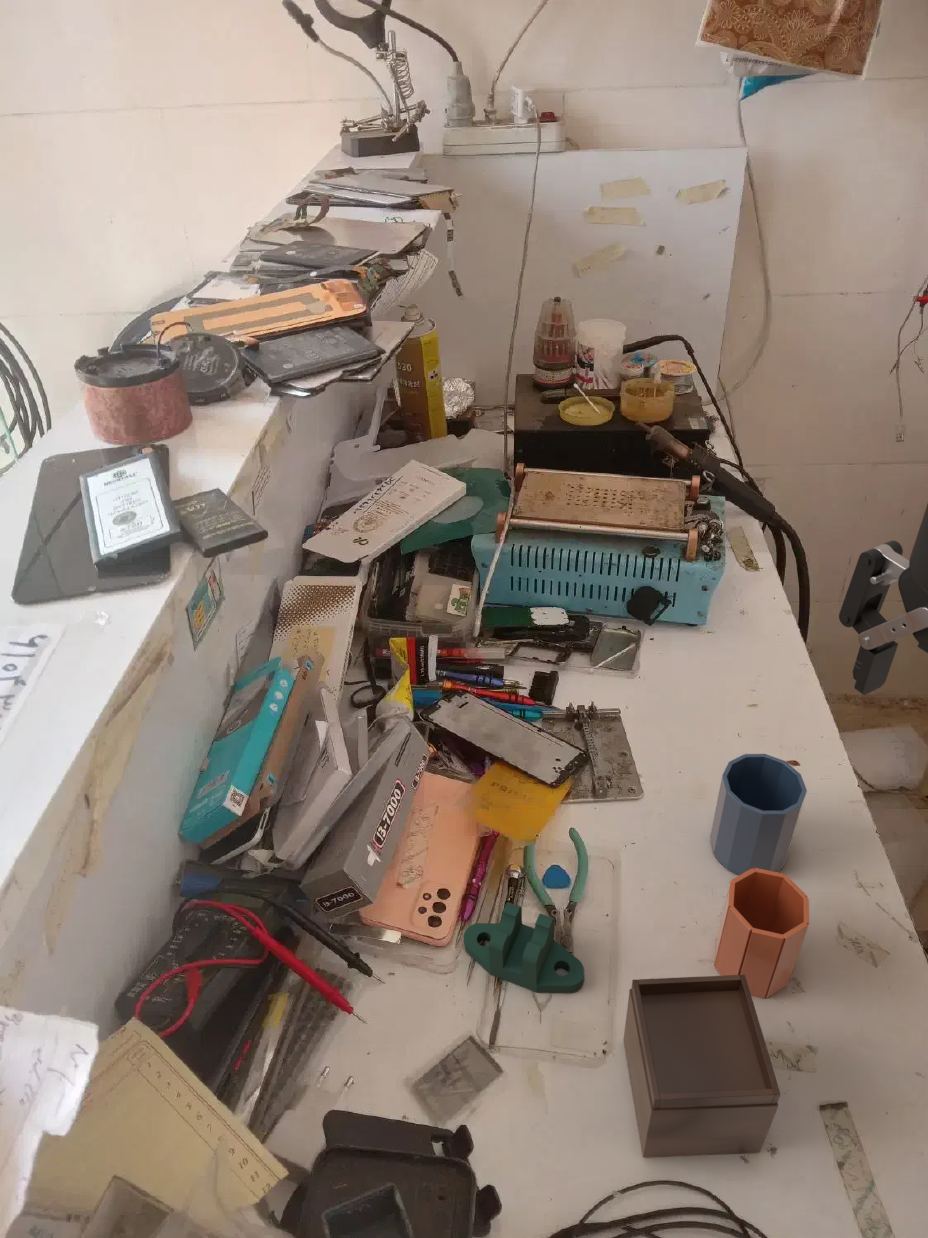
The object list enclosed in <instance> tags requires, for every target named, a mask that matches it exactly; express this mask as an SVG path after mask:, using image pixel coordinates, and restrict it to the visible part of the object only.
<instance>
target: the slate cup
mask: <svg viewBox="0 0 928 1238" xmlns="http://www.w3.org/2000/svg"><path fill="white" fill-rule="evenodd" d="M718 790H719V791H718V796H717V801H716V806H715V811H714V816H713V820H712V826H711V832H710V837H709V838H710V847H711V851H712V854H713V855H714V857H715V859H716V861H717V862H718V863H719V864H720V865H721V866H722V867H724V869H726V870H727V871H729V872H731V873H732V874H734V875H736V876H739V875H741V874H743V873H745V872H746V871H748V870H750V869H752V868H753V869H755V868H759V869H763V870H768V871H773V872H778V873H780V872H781V870H782V869H783V868H784V867H785V864H786V861H787V858H788V856H789V854H790V850H791V846H792V843H793V840H794V836H795V833H796V829H797V826H798V823H799V820H800V816H801V813H802V809H803V806H804V802H805V798H806V795H807V792H808V789H807V787H806V784H805V781H804V779H803V776H802V773H800V772H799V771H798V770H797V769H795V768H794V767H793V766H792V765H791V764H790V763H788V762H787V761H786V760H783V759H781V758H778V757H775V756H773V755H769V754H767V753H744V754H741V755H740V756H738V757H736V758H733V759H732V760H730V761H728V763H727V765H726V766H725V768H724V770H723V773H722V775H721V780H720V785H719V789H718Z"/></svg>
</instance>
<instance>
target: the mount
mask: <svg viewBox="0 0 928 1238" xmlns="http://www.w3.org/2000/svg"><path fill="white" fill-rule="evenodd" d="M522 909H523V907H522V906H520V905H518V904H516V903H515V904H514V903H512V902H510V901H507V902H506V903H505V905H504V907H503V910H502V913H501V919H500V922H498V923H497V922H496V923H494V922H491V923H490V922H477V923H473V924H471V925H469V926H468V927H467V928H466V929H465V930H464V933H463V945H464V946H463V947H464V950H465V952H466V953H467V955H468V956H469V957H471V959H472V960H474V961H475V962H476V963H477V964H478V965H480V967H481V968H483V970H485V971H486V972H487V973H488V974H489V975H491V976H492V977H496V978H497V979H500V980H503V981H505V982H508V983H511V984H513V985H516V986H518V987H520V988H523V989H526V990H529V991H531V992H533V993H537V994H542V993H543V994H573V993H576V992H578V991H579V990H580V989H581V988H582V986H583V985H584V982H585V968H584V965H583V963H582V962H581V960H580V959H578V957H576V956H575V955H574V954H572V952H570V951H569V950H567V949H566V948H565V947H564V946H563V945H561V944H560V943H559V942H558V941H556V940H555V918H554V917H552V916H549V915H546V914H543V913H539V914H538V916H537V918H536V921H535V923H534V927H532V926H529V925H526V924H523V915H522V914H523V913H522V912H523V911H522ZM484 940H485V941H489V943H488V945H481V944H479V943H480V942H482V941H484ZM559 969H563V970H566V971H567V974H565V975H560V974H559V973H557V970H559Z"/></svg>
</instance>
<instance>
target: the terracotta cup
mask: <svg viewBox="0 0 928 1238" xmlns="http://www.w3.org/2000/svg"><path fill="white" fill-rule="evenodd" d="M809 925H810V899H809V897H808V895H807V894H806V893H805V892H804V891H803V889H801V888H800V887H799V886H798V884H796V883H795V882H794V881H793V880H792V879H791V878H790V877H789V875H787V874H786V875H785V873H782V872H773V871H768V870H763V869H759V868H755V869H753V868H752V869H750V870H748V871H746V872H745V873H743V874H741V875H736V877H733V878H732V879H731V880H730V881H729V884H728V889H727V893H726V896H725V902H724V906H723V910H722V915H721V919H720V922H719V927H718V932H717V937H716V941H715V948H714V949H715V950H714V951H715V952H714V961H713V962H714V964H713V965H714V968H715V969H716V971H717V972H718V973H719V974H720V976H724V975H745V976H746V980H747V983H748V986H749V990H750V993H751V997H756V998H760V999H765V998H766V999H768V998H769V997H771V996H772V995H774V994H776V993H778V992H779V991H781V990H782V989H784V988H785V987H787V986H788V984H789V983H790V980H791V977H792V974H793V970H794V968H795V965H796V963H797V961H798V960H797V959H798V957H799V954H800V950H801V948H802V945H803V942H804V939H805V937H806V934H807V931H808V928H809Z"/></svg>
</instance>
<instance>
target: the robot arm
mask: <svg viewBox="0 0 928 1238" xmlns="http://www.w3.org/2000/svg"><path fill="white" fill-rule="evenodd" d="M903 553H904V549H903V546H902V544H901V543H899V542H898V541H896V540H889V541H887V542H885V543H882V544H879V545H877V546H874V547H873V548H870V549H868V550H865V551H863V552H861V553H860V554H859V556H858V559H857V561H856V565H855V568H854V571H853V574H852V576H851V579H850V581H849V585H848V588H847V591H846V592H845V596H844V599H843V602H842V605H841V607H840V610H839V612H838V620H839V622H840V623H841V625H842V626H844V627H845V628H853V630H854V631H855V632H856V633H857V634H858V637H857V638H858V639H857V640H858V643H859V649H858V652H857V656H856V659H855V662H854V666H853V669H852V679H854V680H855V683H854V687H853V688H854V689H855V690H856V691H857V692H859V693H860V694H862V695H863V696H866V695H868V694H870V693H872V692H875V691H876V690H878V689H880V688H881V687H883V686H884V684H885V683H886V681H887V679H888V675H889V673H890V670H891V667H892V665H893V661H894V658H895V655H896V652H897V649H898V646H899V643H898V642H896V641H897V640H898V639H901V638H903V637H906V636H909V635H911V634H912V636H913V637H914V639H915V640H916V641H917V643H918V644H917V648H918V649H921V650H922V651H924V652H925V653H927V654H928V503H927V504H926V507H925V510H924V513H923V516H922V520H921V523H920V525H919V529H918V532H917V535H916V538H915V541H914V544H913V547H912V550H911V553H910V556H909V559H908V558H906V557H905V556H903ZM895 582H897V586H898V587H897V588H898V590H899V594H900V597H901V601H902V604H903V607H904V610H905V612H904V613H902V614H899V615H897V616H896V617H893V618H890V619H888V620H887V619H886V618H885V616H883V615H882V614H881V610H882V607H883V604H884V602H885V599H886V597H887V595H888V591H889V589H890V587H891V585H892V584H893V583H895Z"/></svg>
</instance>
